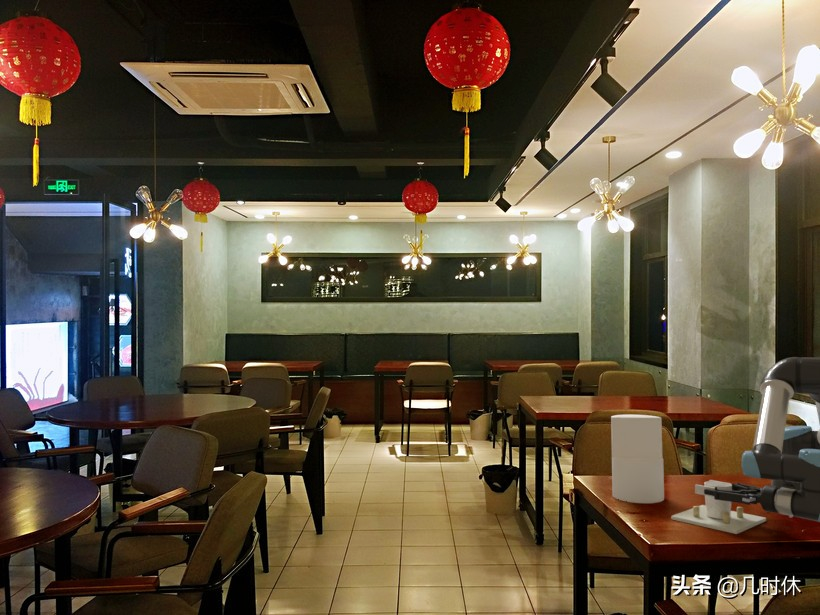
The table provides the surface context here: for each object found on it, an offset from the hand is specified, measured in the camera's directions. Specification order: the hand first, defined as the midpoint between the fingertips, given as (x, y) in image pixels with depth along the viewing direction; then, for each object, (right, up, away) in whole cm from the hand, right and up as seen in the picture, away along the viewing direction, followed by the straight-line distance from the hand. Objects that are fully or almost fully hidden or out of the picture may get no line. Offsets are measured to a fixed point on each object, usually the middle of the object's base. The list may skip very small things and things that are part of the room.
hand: (702, 486), depth 207 cm
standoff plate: (+3, -9, -4) cm, 11 cm away
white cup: (+3, -8, -4) cm, 10 cm away
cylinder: (-12, -11, +25) cm, 30 cm away
